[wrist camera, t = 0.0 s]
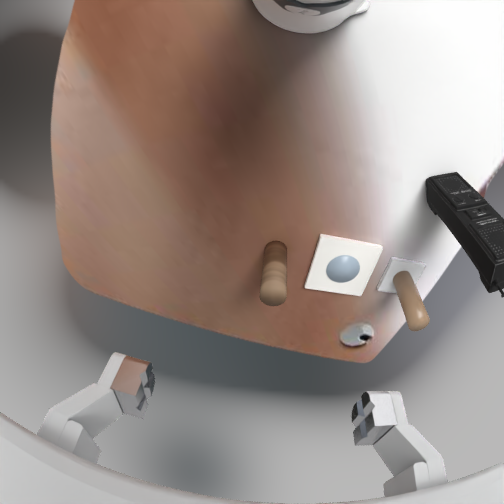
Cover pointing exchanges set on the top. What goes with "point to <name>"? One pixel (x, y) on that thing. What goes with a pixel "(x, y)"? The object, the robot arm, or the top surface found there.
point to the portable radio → (470, 225)
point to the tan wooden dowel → (406, 289)
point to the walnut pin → (274, 274)
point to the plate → (342, 265)
